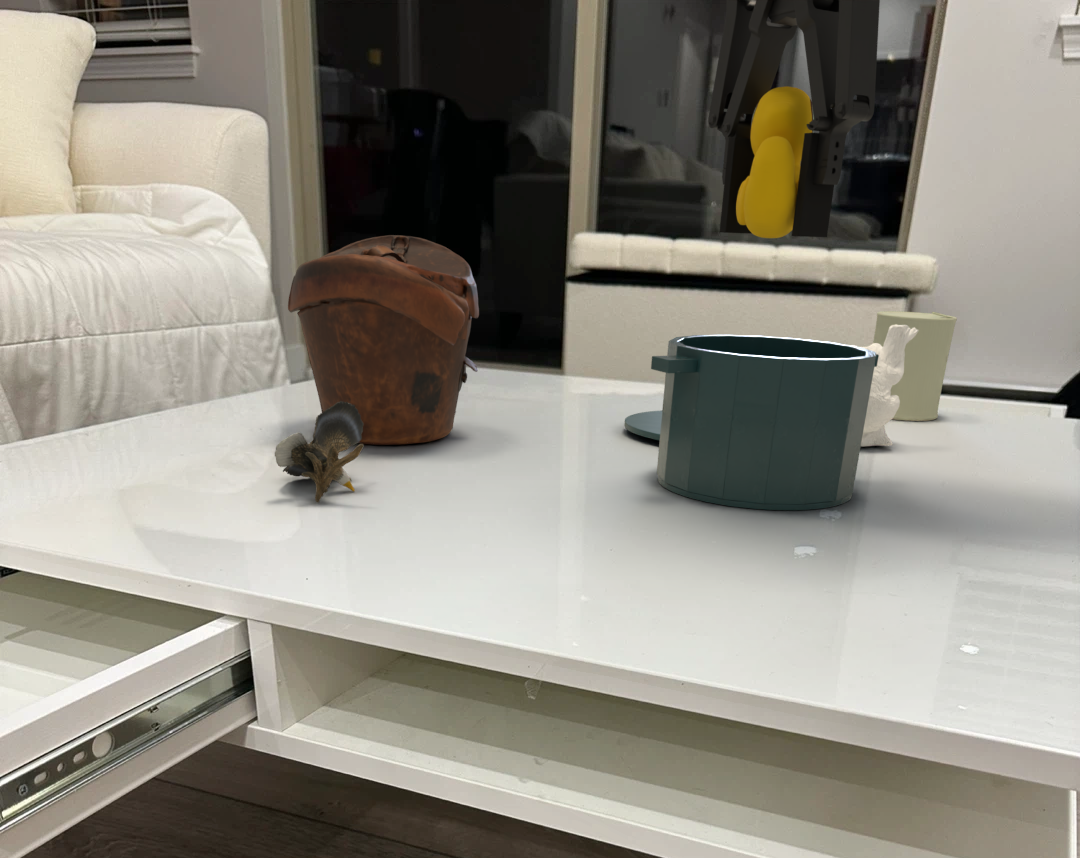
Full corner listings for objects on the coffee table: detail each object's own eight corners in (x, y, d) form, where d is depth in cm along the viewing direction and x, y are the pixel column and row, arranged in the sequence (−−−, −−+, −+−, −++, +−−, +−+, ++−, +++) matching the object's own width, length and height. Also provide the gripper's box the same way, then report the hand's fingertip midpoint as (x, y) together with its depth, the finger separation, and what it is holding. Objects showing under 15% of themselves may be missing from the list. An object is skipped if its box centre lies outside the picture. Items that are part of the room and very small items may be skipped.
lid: (829, 447, 108) (835, 406, 107) (688, 458, 100) (693, 413, 99) (723, 417, 122) (727, 380, 120) (592, 425, 114) (595, 385, 113)
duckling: (739, 236, 86) (754, 93, 81) (806, 238, 84) (825, 94, 80) (725, 237, 76) (741, 75, 71) (801, 240, 74) (822, 76, 70)
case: (344, 461, 93) (336, 238, 85) (268, 421, 108) (255, 229, 100) (517, 447, 102) (524, 244, 94) (424, 412, 117) (423, 235, 109)
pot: (916, 498, 90) (945, 356, 85) (709, 521, 80) (727, 362, 75) (788, 458, 103) (805, 333, 98) (595, 473, 93) (604, 336, 88)
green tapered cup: (935, 423, 125) (957, 316, 119) (856, 415, 127) (874, 310, 122) (938, 412, 132) (959, 311, 127) (863, 405, 135) (880, 305, 130)
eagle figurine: (393, 487, 80) (384, 442, 87) (338, 410, 76) (334, 369, 83) (310, 538, 81) (308, 489, 88) (252, 465, 77) (255, 420, 84)
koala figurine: (879, 437, 115) (900, 320, 110) (920, 450, 109) (944, 328, 104) (814, 440, 112) (832, 320, 107) (852, 453, 106) (873, 327, 101)
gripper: (678, -120, 76) (652, 229, 86) (892, -203, 60) (830, 238, 70) (758, -102, 79) (725, 231, 89) (981, -176, 63) (910, 241, 73)
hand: (771, 234), depth 79 cm, fingers closed on duckling, 8 cm apart
